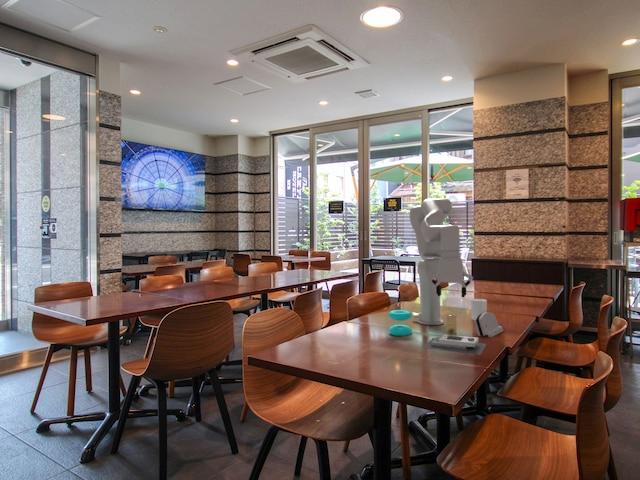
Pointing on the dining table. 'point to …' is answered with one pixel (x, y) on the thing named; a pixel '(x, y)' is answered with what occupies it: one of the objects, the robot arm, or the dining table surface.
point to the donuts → (400, 316)
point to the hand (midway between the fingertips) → (451, 296)
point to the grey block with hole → (455, 342)
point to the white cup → (478, 307)
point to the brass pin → (451, 325)
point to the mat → (475, 350)
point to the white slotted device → (487, 324)
